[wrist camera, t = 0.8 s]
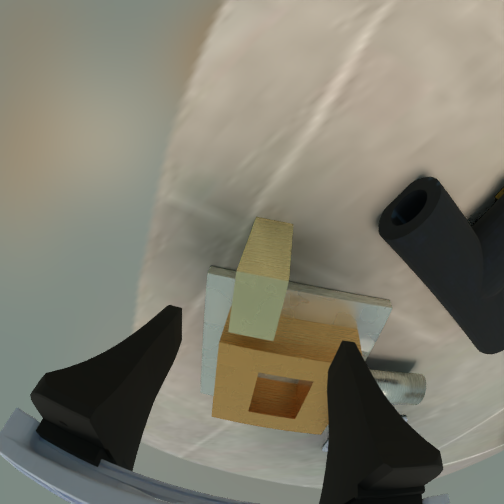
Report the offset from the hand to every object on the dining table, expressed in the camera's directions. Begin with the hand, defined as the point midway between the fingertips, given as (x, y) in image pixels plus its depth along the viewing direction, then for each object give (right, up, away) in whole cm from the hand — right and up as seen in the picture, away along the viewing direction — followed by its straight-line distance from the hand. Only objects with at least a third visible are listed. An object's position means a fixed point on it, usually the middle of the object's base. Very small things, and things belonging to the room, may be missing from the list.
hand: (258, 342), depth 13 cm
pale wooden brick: (+1, +4, +8) cm, 10 cm away
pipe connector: (+17, +5, +6) cm, 19 cm away
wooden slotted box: (+5, -6, +13) cm, 15 cm away
